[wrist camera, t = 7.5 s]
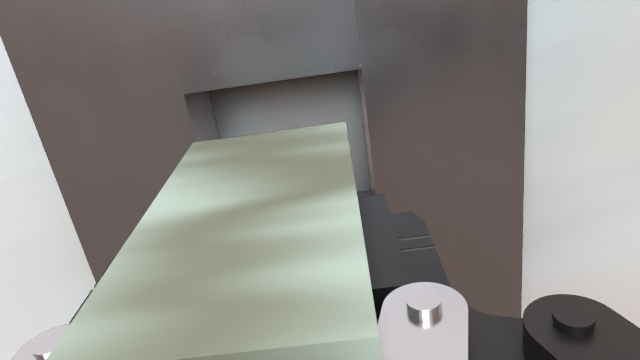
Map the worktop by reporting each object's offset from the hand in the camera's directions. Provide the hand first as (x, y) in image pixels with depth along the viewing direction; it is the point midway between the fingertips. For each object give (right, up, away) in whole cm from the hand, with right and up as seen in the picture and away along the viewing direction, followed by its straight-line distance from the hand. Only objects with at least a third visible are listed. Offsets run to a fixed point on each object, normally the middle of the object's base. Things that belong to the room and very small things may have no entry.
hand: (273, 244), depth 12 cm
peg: (0, +1, +2) cm, 2 cm away
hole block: (0, +3, +7) cm, 8 cm away
